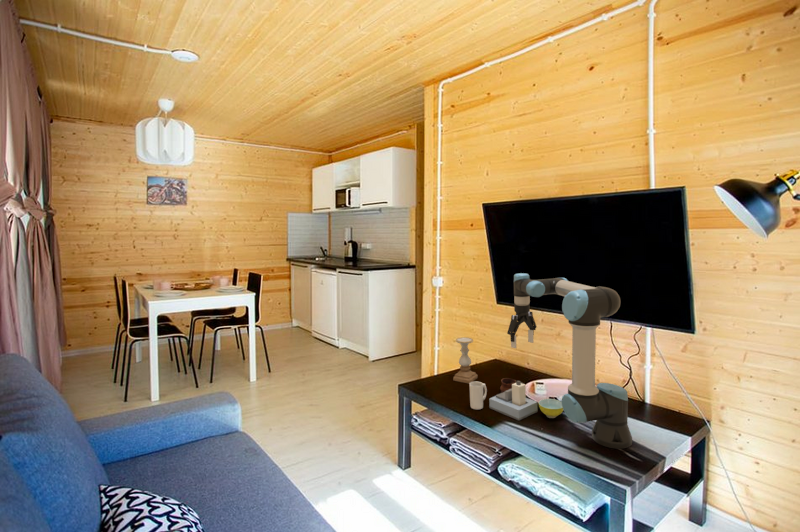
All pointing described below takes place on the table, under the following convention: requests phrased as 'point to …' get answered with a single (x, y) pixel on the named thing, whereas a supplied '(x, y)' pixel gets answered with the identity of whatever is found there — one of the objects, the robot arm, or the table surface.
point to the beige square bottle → (518, 393)
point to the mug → (477, 394)
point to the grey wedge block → (505, 395)
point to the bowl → (551, 407)
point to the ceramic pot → (507, 384)
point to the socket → (513, 408)
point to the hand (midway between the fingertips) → (522, 345)
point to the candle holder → (465, 363)
